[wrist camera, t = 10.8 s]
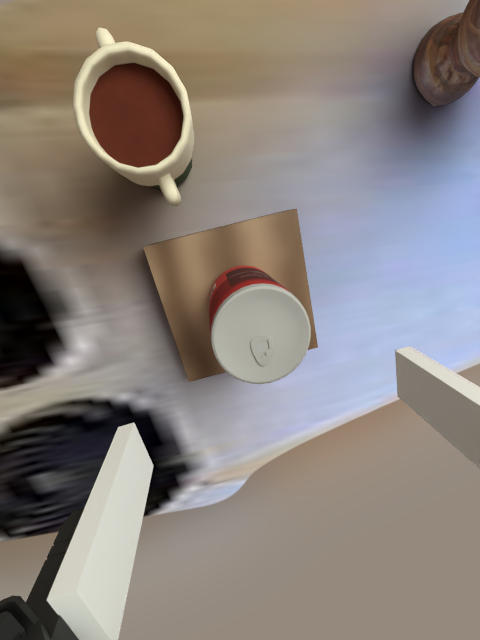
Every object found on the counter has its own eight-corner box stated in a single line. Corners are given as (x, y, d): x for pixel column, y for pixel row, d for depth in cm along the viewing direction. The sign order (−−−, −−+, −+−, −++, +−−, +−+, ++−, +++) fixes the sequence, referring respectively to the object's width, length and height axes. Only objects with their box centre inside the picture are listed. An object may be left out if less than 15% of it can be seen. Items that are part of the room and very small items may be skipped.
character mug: (103, 112, 28) (26, 26, 16) (170, 84, 28) (145, -24, 16) (154, 222, 32) (123, 221, 19) (214, 198, 32) (220, 181, 19)
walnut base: (190, 365, 38) (188, 381, 34) (150, 244, 32) (143, 246, 29) (306, 335, 38) (317, 347, 35) (286, 210, 33) (296, 208, 29)
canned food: (228, 345, 33) (239, 400, 23) (194, 284, 30) (190, 315, 20) (288, 315, 33) (326, 358, 22) (259, 251, 30) (288, 266, 20)
